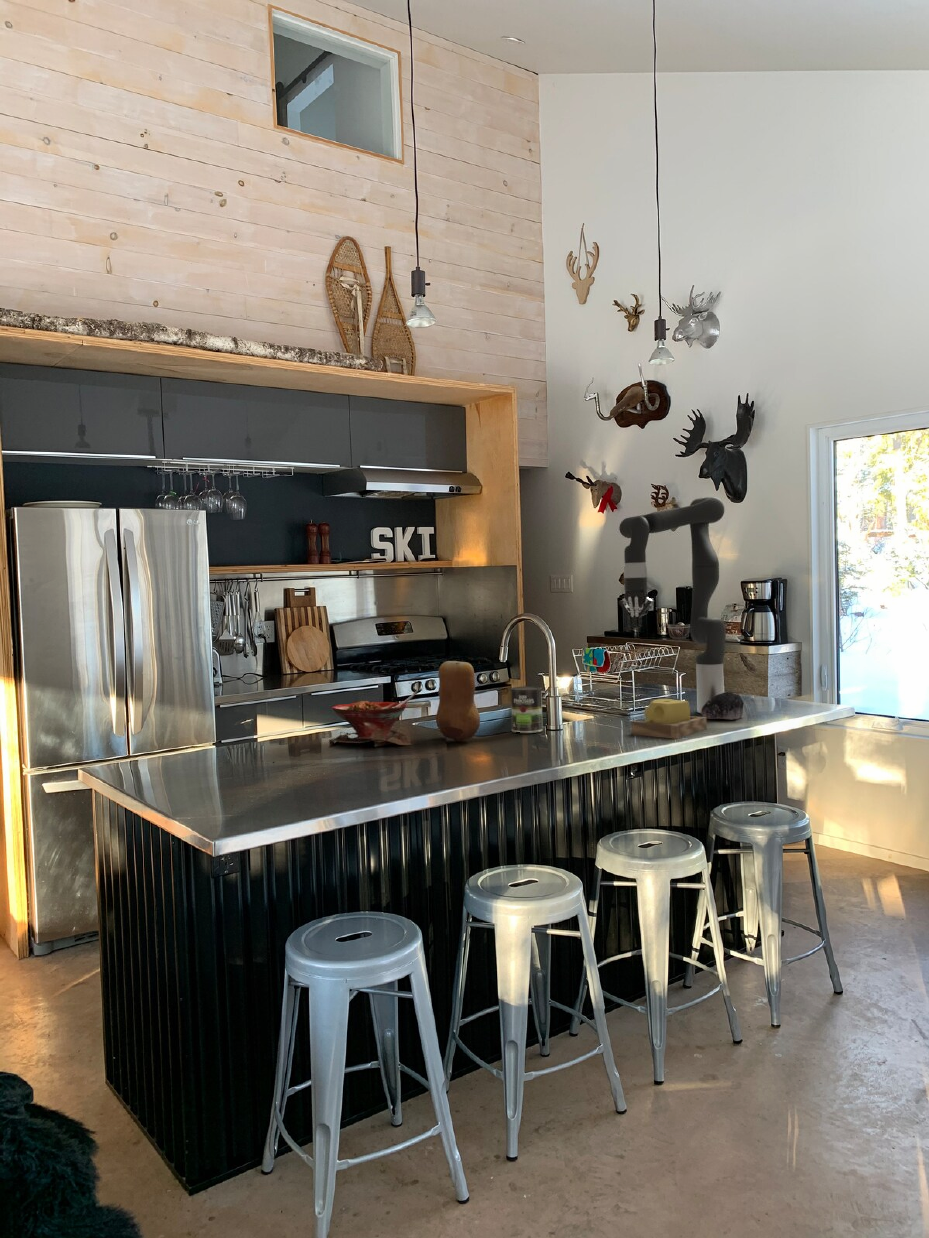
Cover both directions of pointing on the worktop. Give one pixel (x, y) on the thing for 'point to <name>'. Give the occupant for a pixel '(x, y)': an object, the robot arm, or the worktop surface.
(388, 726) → the stew
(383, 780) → the worktop surface
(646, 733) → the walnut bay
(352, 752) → the worktop surface
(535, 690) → the coffee can
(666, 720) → the cheese
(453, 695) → the butternut squash
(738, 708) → the dark brown rock
